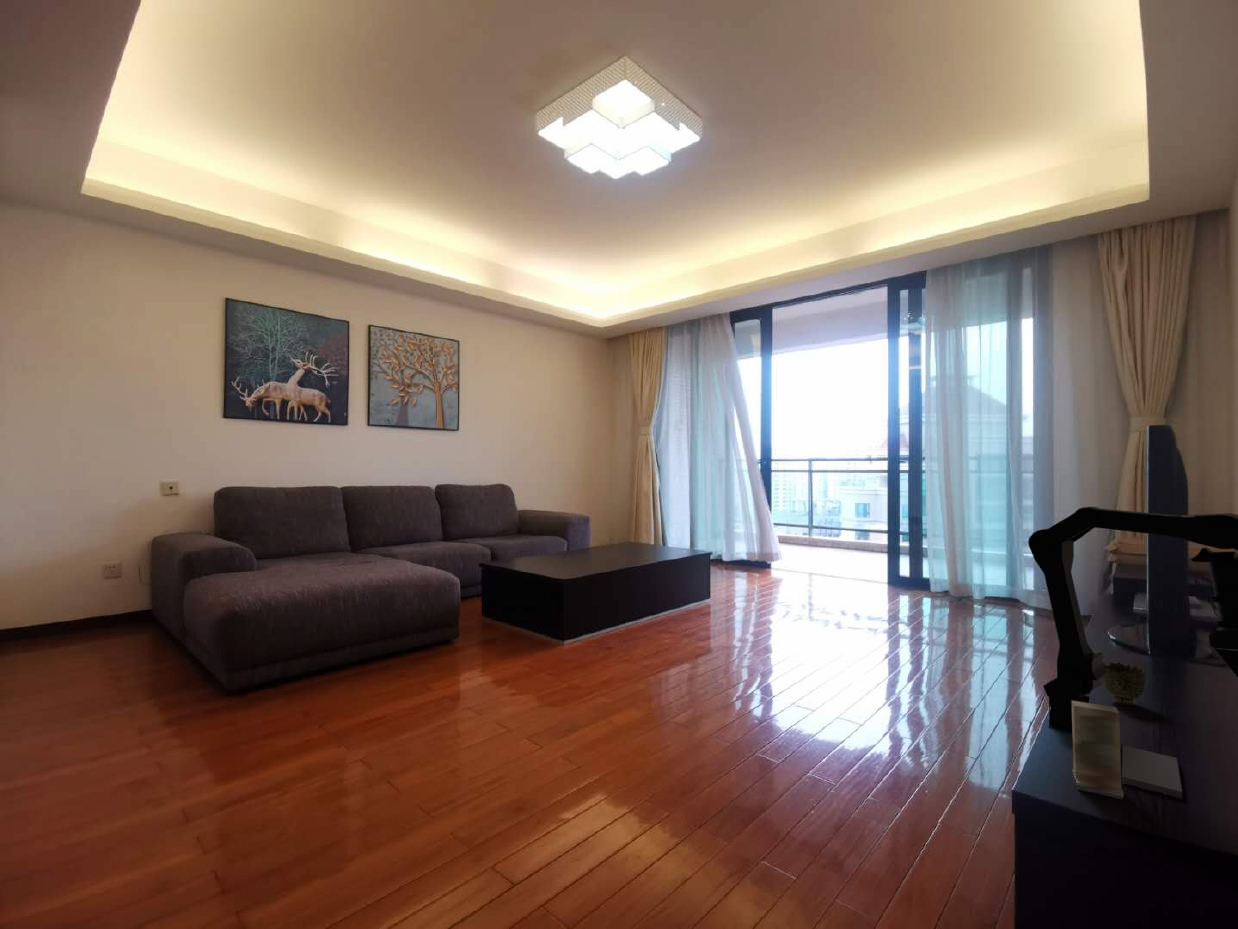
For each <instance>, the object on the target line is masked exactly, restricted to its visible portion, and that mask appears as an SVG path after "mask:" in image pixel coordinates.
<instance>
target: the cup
mask: <svg viewBox="0 0 1238 929" xmlns="http://www.w3.org/2000/svg"><path fill="white" fill-rule="evenodd" d="M1103 665H1104V667H1105V669H1106V671H1107V672H1108V673H1107V674H1106V675H1104V681H1103V684H1104V687H1105V688H1106V691H1108V693H1109V694H1111V695H1113V696H1112V699H1113V701H1114V702H1115V703H1116V704H1118V705H1122V706H1128V707H1129V706H1130V707H1131V706H1134V705H1135V704H1136V700H1137V699H1138V698H1140V697H1141V696H1142V695H1143V693H1144V688H1145V684H1146V675H1147V671H1146V669H1142V668H1141V667H1137V665H1135V666H1133V667H1131V665H1130V664H1127V665H1125V664H1123V663H1121V662H1120V661H1118V662H1116V663H1114V662H1111V661H1110V662H1109V665H1106V664H1105V662H1103ZM1135 699H1136V700H1135Z"/></svg>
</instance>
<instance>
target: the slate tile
mask: <svg viewBox="0 0 1238 929" xmlns="http://www.w3.org/2000/svg"><path fill="white" fill-rule="evenodd" d="M1121 761H1122V762H1121V783H1122V782H1123V783H1127V784H1130V785H1136V786H1140V787H1144V788H1147V789H1152V790H1158V791H1168V792H1172V793H1176V794H1178V795H1182V796H1183V788H1182V787H1183V786H1182V783H1181V782H1182V781H1181V776H1180V770H1179V764H1178V763H1179V762H1178V758H1177V757H1174V756H1170V755H1165V754H1161V753H1156V752H1154V751H1153V752H1152V751H1149V750H1145V749H1144V750H1143V749H1140V748H1134V747H1130V746H1125V745H1122V758H1121Z"/></svg>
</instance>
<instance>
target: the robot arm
mask: <svg viewBox="0 0 1238 929" xmlns="http://www.w3.org/2000/svg"><path fill="white" fill-rule="evenodd" d="M1093 529H1104V530H1114V531H1121V532H1122V531H1123V532H1131V533H1132V532H1133V533H1140V534H1149V535H1159V536H1165V537H1166V536H1167V537H1172V538H1177V539H1182V540H1184V541H1188V542H1191V543H1194V544H1199V545H1203V546H1205V547H1202V548H1201V549H1200V551H1199V552H1198V553H1197V554H1196V555H1195V556H1193V557H1192V558H1191V562H1193V563H1208V566H1209V571H1210V576H1211V582H1212V584H1213V591H1214V595H1212V601H1213V603H1216V606H1217V610H1218V615H1219V619H1218V620H1217V626H1218V628H1215V630H1213V631H1212V632H1210V633H1209V634H1208V640H1209V645H1210V648H1213V650H1214V651H1215V652H1216V653H1218V655H1219V656H1220V657H1221V659H1222V660H1223V661H1224V662H1225V664H1226V665H1227V666H1228V667H1229V668H1230V670H1231V671H1232V672H1233V673H1234V675H1235V676H1236V677H1237V678H1238V552H1237V551H1238V514H1235V513H1231V512H1230V513H1227V512H1226V513H1201V514H1200V513H1199V514H1182V515H1181V514H1178V515H1175V514H1166V513H1154V512H1152V513H1151V512H1144V511H1143V512H1142V511H1131V510H1123V509H1122V510H1120V509H1110V508H1100V507H1096V506H1084V507H1080V508H1078V509H1076V511H1075V512H1074V513H1072V514H1070V515H1069V516H1067V517H1066V518H1063V519H1062V520H1060V521H1058V522H1057V523H1055V524H1053V525H1052V526H1051V527H1048V528H1045V529H1038V530H1036V531H1034V532H1032V533H1031V535H1030V536H1028V540H1027V541H1028V543H1027V544H1028V547H1029V550H1030V552H1031V555H1032V557H1033V559H1034V561H1035V563H1036V565H1037V566H1038V568H1039V569H1040V570H1041V572H1042V573H1043V575H1044V579H1045V583H1046V588H1047V593H1048V597H1049V602H1050V607H1051V610H1052V611H1051V612H1052V616H1053V620H1054V625H1055V629H1056V634H1057V638H1058V644H1059V647H1058V652H1057V659H1056V677H1055V678H1054V679H1052V680H1051V681H1048V682H1047V683H1044V685H1043V690H1044V692H1045V694H1046V697H1048V713H1049V714H1048V715H1049V716H1048V718H1049V717H1050V718H1049V719H1048V722H1049V726H1052V727H1051V728H1053V727H1055V728H1054V729H1057V730H1063V731H1066V730H1067V731H1066V732H1071V733H1072V701H1078V702H1084V703H1091V702H1090V696H1088V695H1091V693H1092V692H1093V691H1094V690H1096V689H1097V688H1098V687H1100V686H1101V685H1102V684H1104V675H1106V674H1107V673H1108V672H1107V671H1106V669H1105V667H1104V665H1103V663H1104V655H1103V654H1104V653H1103V652H1094V651H1093V650H1092V648H1091V646H1089V643H1088V641H1087V636H1086V631H1085V628H1084V622H1083V617H1082V615H1081V610H1080V605H1079V601H1078V596H1077V591H1076V587H1075V583H1074V579H1073V573H1072V568H1073V565H1074V564H1073V562H1074V557H1075V548H1074V547H1075V546H1074V544H1075V542H1076V541H1078V540H1080V539H1081V538H1083V537H1084V536H1085V535H1087V534H1089V532H1091V531H1092V530H1093ZM1206 546H1207V547H1206ZM1208 547H1211V548H1214V549H1219V550H1235V551H1213V550H1211V549H1210V548H1208ZM1050 707H1051V710H1050ZM1049 710H1050V712H1049ZM1049 726H1048V727H1049Z"/></svg>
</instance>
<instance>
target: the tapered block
mask: <svg viewBox="0 0 1238 929" xmlns="http://www.w3.org/2000/svg"><path fill="white" fill-rule="evenodd" d="M1120 727H1121V726H1120V712H1119V710H1118V708H1116V706H1110V705H1104V704H1095V703H1091V702H1090V703H1084V702H1078V701H1072V732H1071V733H1072V734H1071V736H1072V764H1073V766H1072V767H1073V768H1072V769H1071V773H1072V772H1073V775H1074V778H1075V780H1076V783H1077V785H1079V786H1081V787H1085V788H1088V789H1091V790H1095V791H1102V792H1105V793H1110V794H1113V795H1116V796H1121V797H1125V796H1124V791H1123V789H1122V762H1121V761H1122V758H1121V736H1120V735H1121V733H1120V732H1121V731H1120V729H1121V728H1120Z"/></svg>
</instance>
